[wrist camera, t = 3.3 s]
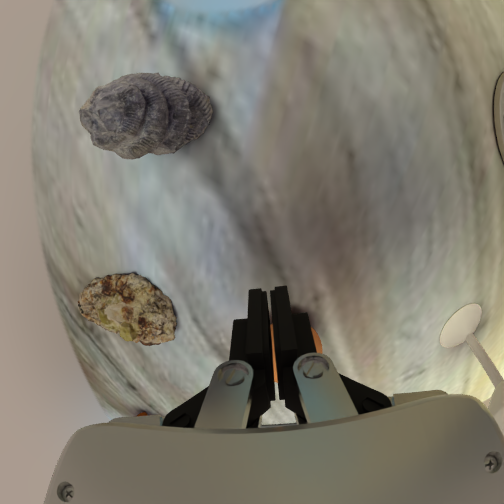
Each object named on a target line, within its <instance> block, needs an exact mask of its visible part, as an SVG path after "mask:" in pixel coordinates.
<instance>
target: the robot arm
mask: <svg viewBox="0 0 504 504" xmlns="http://www.w3.org/2000/svg"><path fill="white" fill-rule="evenodd" d="M494 121H495V129H496V135H497V140H498V145H499V149H500V152H501V155H502V159H503V161H504V72H503V73H502V75H501V76H500V78H499V80H498V83H497V86H496V91H495V97H494ZM270 296H271V309H272V322H273V336H274V350H275V360H276V370H277V379H278V389H279V399H280V400H284V399H285V407H286V408H288V409H289V410H291V411H293V412H294V413H295V419H296V422H297V425H291V426H281V427H268V428H261V423H262V414H264V413H265V412H266V411H267V410H268V409H269V408H271V404H270V401H274V400H275V384H274V366H273V350H272V336H271V327H270V319H269V310H268V301H267V293H266V291H262V290H261V288H260V289H250V290H249V298H248V319H236V320H234V322H233V330H232V339H231V348H230V357H229V361H227V362H224V363H222V364H221V365H219V366H218V367H217V368H216V370H215V371H214V374H213V376H212V379H211V382H210V385H209V386H208V387H207V388H205V389H204V390H202V391H201V392H199V393H198V394H197V395H195V396H194V397H192V398H191V399H189V400H188V401H186V402H184V403H183V404H181V405H180V406H178V407H177V408H175V409H174V410H172V411H171V412H169V413H168V414H167V415H166V416H162V417H161V415H160V414H158V415H148V416H136V417H121V418H115V419H113V420H111V421H109V423H100V424H94V425H89V426H86V427H83V428H81V429H79V430H77V431H76V432H75V433H74V434H73V435H72V436H71V438H70V439H69V441H68V442H67V444H66V446H65V448H64V449H63V451H62V453H61V456H60V458H59V460H58V463H57V465H56V467H55V470H54V473H53V475H52V478H51V481H50V484H49V488H48V491H47V494H46V498H45V501H44V504H504V435H503V433H502V431H501V430H500V428H499V426H498V424H497V422H496V420H495V419H494V417H493V415H492V414H491V413H490V411H489V410H488V408H487V407H486V406H485V405H484V404H483V403H482V402H481V401H480V400H479V399H477V398H476V397H473V396H470V395H463V394H447V393H446V392H444V391H442V390H431V391H422V392H412V393H400V394H393V397H387V396H386V395H384V394H383V393H381V392H378V391H376V390H374V389H371V388H369V387H367V386H365V385H363V384H360V383H358V382H356V381H354V380H352V379H349V378H347V377H345V376H343V375H341V374H339V373H338V372H337V370H336V368H335V366H334V364H333V362H332V360H331V359H330V358H329V357H328V356H326V355H324V354H321V353H317V350H316V346H315V342H314V338H313V333H312V329H311V325H310V321H309V317H308V314H307V312H306V313H297V314H292V313H291V307H290V301H289V296H288V290H287V286H279V287H275V290H272V291H270Z"/></svg>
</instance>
